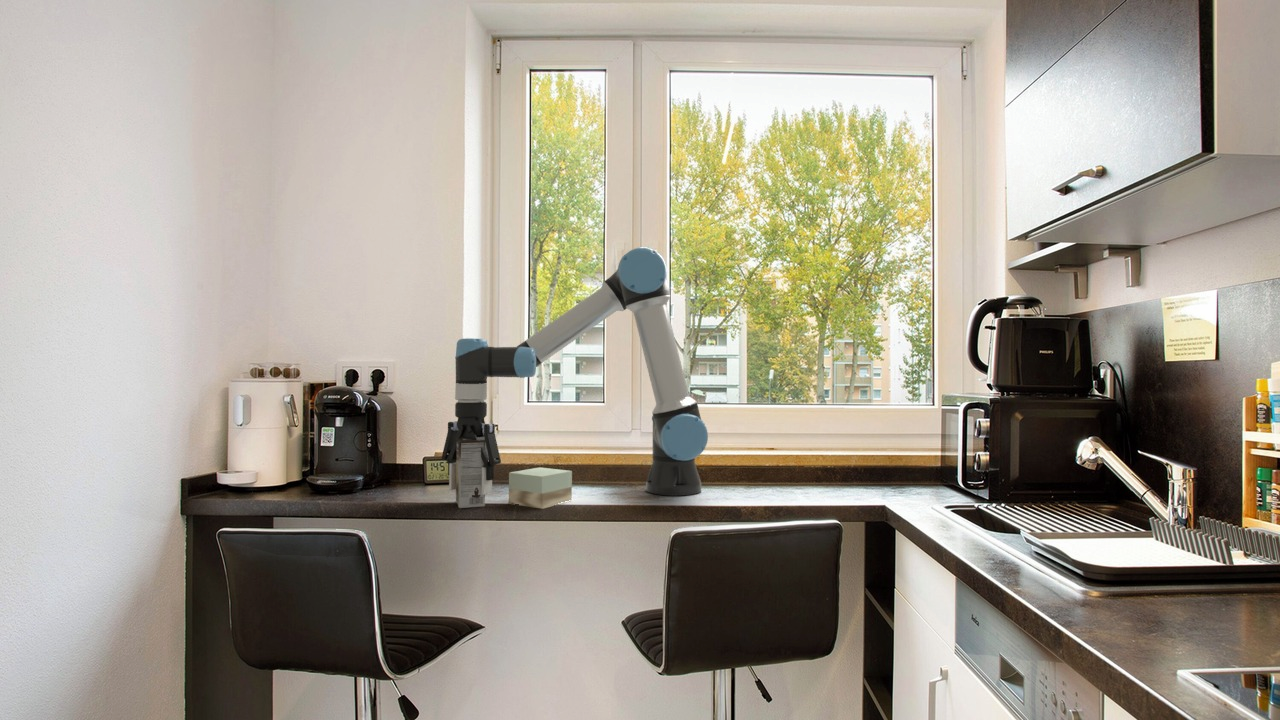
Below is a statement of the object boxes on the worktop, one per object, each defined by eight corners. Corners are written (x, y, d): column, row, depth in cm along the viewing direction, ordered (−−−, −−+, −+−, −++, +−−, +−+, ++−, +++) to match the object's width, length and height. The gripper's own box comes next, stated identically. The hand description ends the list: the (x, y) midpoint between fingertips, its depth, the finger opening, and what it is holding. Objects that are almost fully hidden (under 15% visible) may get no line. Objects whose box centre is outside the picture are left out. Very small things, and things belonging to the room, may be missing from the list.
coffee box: (454, 501, 158) (455, 437, 159) (480, 499, 161) (481, 436, 161) (458, 508, 150) (459, 440, 150) (486, 506, 152) (486, 439, 152)
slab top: (571, 486, 159) (571, 470, 159) (541, 493, 150) (542, 476, 150) (539, 482, 166) (539, 467, 166) (508, 488, 156) (509, 472, 156)
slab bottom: (571, 502, 159) (571, 486, 160) (542, 510, 150) (542, 493, 150) (538, 498, 165) (538, 482, 165) (508, 505, 156) (508, 489, 156)
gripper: (516, 401, 153) (515, 493, 152) (450, 399, 165) (449, 484, 164) (494, 403, 147) (493, 498, 146) (427, 400, 159) (426, 489, 158)
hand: (470, 491), depth 155 cm, fingers closed on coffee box, 10 cm apart
